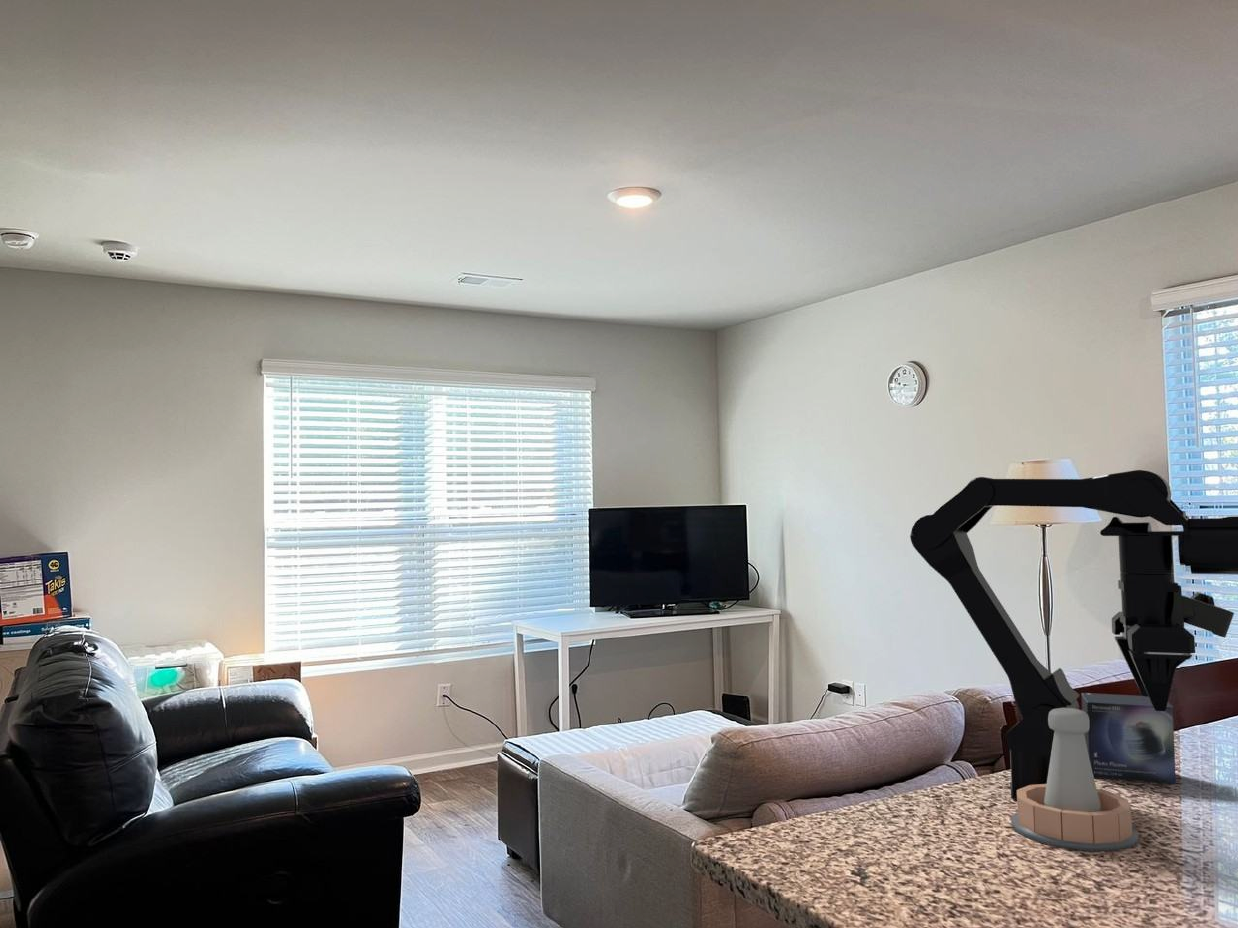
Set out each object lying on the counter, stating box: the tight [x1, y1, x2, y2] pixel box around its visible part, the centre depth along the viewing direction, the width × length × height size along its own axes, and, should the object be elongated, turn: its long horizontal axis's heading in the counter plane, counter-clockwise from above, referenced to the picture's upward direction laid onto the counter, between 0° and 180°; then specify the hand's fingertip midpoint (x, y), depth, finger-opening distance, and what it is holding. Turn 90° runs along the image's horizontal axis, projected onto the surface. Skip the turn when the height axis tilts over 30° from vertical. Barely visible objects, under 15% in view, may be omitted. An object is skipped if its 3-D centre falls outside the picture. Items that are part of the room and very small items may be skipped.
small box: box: [1080, 692, 1177, 785], centre depth 126 cm, size 11×6×10 cm, turn 70°
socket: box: [1010, 784, 1140, 852], centre depth 104 cm, size 13×13×4 cm
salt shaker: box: [1044, 708, 1100, 812], centre depth 105 cm, size 6×6×13 cm
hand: (1153, 703), depth 110 cm, fingers open, 9 cm apart
